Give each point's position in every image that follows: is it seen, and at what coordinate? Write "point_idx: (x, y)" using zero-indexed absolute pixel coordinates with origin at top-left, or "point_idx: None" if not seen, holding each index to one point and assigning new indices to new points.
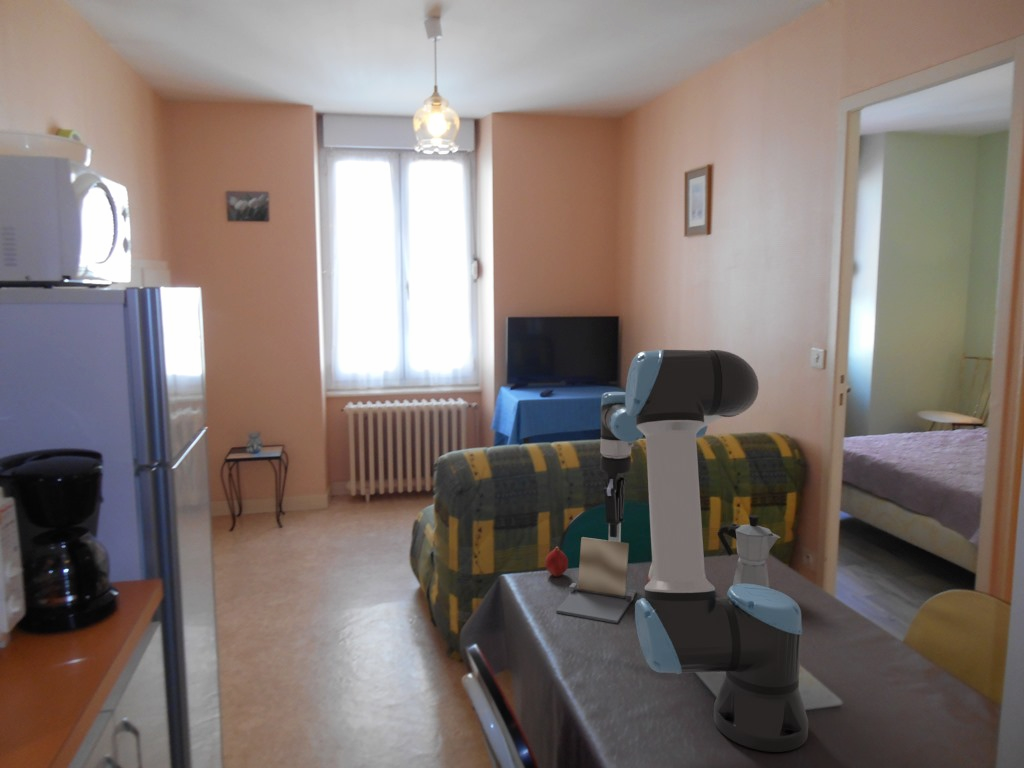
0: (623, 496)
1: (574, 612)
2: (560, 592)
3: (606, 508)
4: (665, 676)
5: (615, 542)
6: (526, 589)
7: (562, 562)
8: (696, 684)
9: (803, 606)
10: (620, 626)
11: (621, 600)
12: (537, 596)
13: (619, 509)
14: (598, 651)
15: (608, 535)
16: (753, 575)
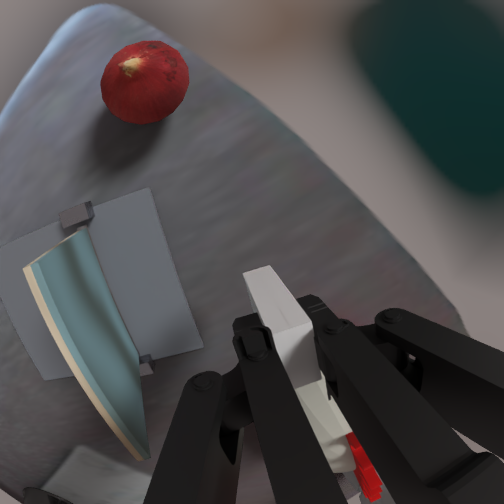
0: (481, 441)
1: (2, 295)
2: (65, 180)
3: (155, 490)
4: (18, 456)
5: (110, 424)
6: (34, 99)
7: (123, 116)
8: (38, 477)
9: None
10: (44, 385)
11: None
12: (16, 153)
13: (356, 433)
14: None
15: (253, 298)
16: (348, 480)
